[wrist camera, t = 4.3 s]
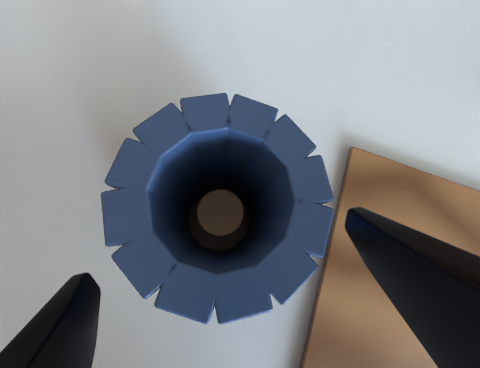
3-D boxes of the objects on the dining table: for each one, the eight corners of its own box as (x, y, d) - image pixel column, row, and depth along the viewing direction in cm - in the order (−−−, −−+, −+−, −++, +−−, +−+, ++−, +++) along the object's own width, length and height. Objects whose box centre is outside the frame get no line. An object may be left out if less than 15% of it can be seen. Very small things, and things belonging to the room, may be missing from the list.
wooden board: (541, 501, 16) (549, 508, 15) (288, 419, 15) (290, 424, 15) (544, 216, 20) (550, 216, 20) (350, 148, 20) (353, 146, 20)
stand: (257, 304, 17) (293, 363, 9) (136, 263, 16) (64, 288, 9) (290, 186, 19) (343, 152, 11) (183, 149, 19) (160, 87, 11)
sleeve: (249, 283, 14) (301, 357, 5) (154, 251, 13) (55, 275, 5) (277, 190, 15) (352, 134, 7) (191, 160, 15) (159, 65, 7)
